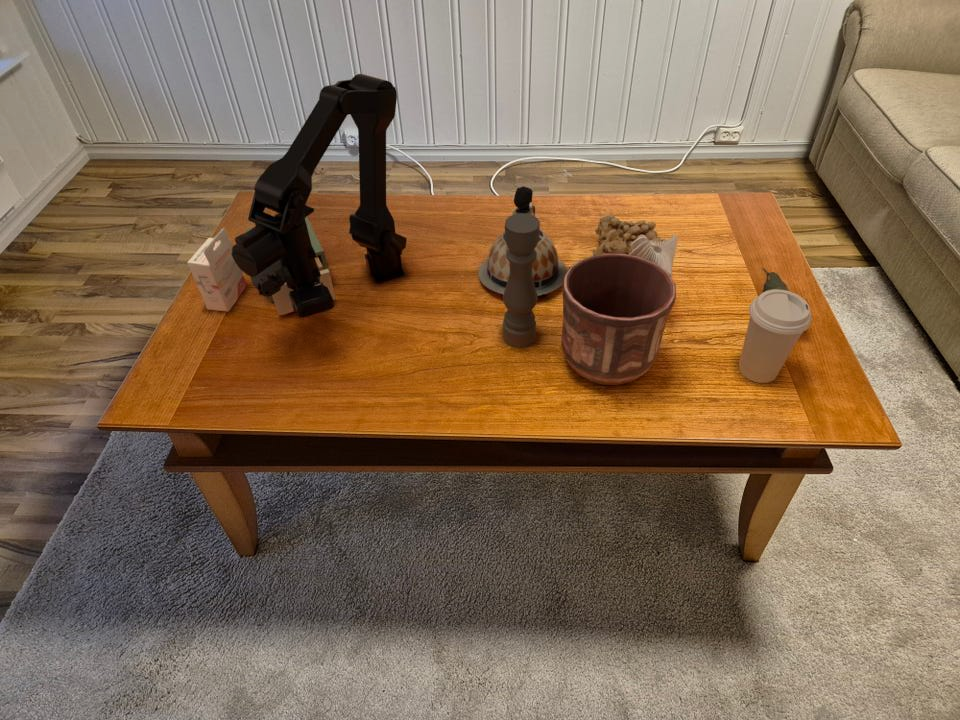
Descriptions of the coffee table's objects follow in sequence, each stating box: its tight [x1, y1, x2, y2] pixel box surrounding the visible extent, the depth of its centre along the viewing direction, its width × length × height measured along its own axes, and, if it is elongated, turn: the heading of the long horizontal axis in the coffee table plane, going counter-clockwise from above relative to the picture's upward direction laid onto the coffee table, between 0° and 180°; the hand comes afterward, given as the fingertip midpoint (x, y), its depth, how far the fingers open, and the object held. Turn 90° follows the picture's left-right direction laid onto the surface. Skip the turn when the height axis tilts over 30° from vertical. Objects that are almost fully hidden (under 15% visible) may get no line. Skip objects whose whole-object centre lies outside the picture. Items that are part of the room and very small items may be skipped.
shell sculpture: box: [629, 234, 679, 279], centre depth 122 cm, size 8×8×18 cm
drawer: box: [272, 256, 337, 316], centre depth 130 cm, size 18×11×7 cm, turn 25°
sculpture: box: [761, 267, 790, 293], centre depth 126 cm, size 5×19×5 cm, turn 3°
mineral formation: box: [592, 213, 667, 259], centre depth 138 cm, size 8×13×15 cm
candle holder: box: [502, 213, 541, 349], centre depth 115 cm, size 6×6×25 cm
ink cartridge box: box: [186, 227, 248, 312], centre depth 128 cm, size 9×5×15 cm, turn 168°
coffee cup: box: [738, 289, 812, 384], centre depth 111 cm, size 10×10×15 cm
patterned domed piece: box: [477, 185, 568, 299], centre depth 130 cm, size 18×18×20 cm
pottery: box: [560, 254, 677, 386], centre depth 112 cm, size 18×18×18 cm
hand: (312, 313), depth 123 cm, fingers closed
